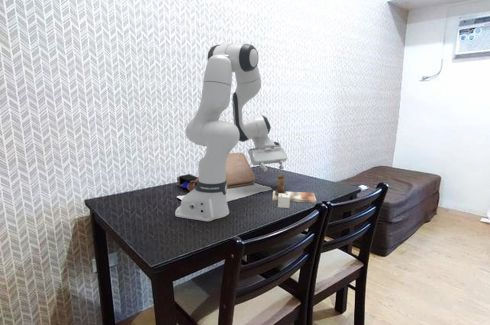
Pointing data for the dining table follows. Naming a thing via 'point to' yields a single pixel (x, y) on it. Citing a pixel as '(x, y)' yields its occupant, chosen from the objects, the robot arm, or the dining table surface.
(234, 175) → the case
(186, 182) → the figurine character
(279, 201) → the die
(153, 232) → the dining table surface
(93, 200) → the dining table surface
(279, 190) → the pawn
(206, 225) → the dining table surface
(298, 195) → the board
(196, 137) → the robot arm
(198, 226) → the dining table surface
